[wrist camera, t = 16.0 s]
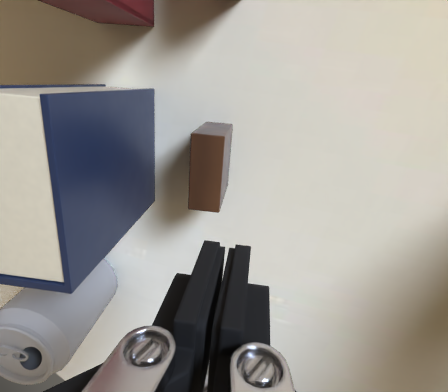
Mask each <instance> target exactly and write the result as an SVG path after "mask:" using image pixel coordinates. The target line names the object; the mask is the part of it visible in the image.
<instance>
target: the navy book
mask: <svg viewBox="0 0 448 392" xmlns="http://www.w3.org/2000/svg"><path fill="white" fill-rule="evenodd" d="M154 201H155V150H154V89H129V88H117V87H106V85H104V84H78V85H0V284H4V285H11V286H19V287H26V288H33V289H40V290H47V291H54V292H61V293H68V294H72V293H73V292H74V291H75V290H76V289H77V288H78V286H79V285H80V284H81V283H82V282H83V281H84V280H85V279H86V277H87V276H88V275H89V274H90V273H91V272H92V271H93V270H94V268H95V267H96V266H97V265H98V264H99V263H100V262H101V261H102V259H103V258H104V257H105V256H106V255H107V254H108V253H109V252H110V250H111V249H112V248H113V247H114V246H115V245H116V244H117V243H118V241H119V240H120V239H121V238H122V237H123V236H124V235H125V234H126V232H127V231H128V230H129V229H130V228H131V227H132V226H133V225H134V224H135V222H136V221H137V220H138V219H139V218H140V217H141V216H142V215H143V213H144V212H145V211H146V210H147V209H148V208H149V207H150V206H151V204H152V203H153V202H154Z"/></svg>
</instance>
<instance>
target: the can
mask: <svg viewBox="0 0 448 392" xmlns="http://www.w3.org/2000/svg"><path fill="white" fill-rule="evenodd" d="M117 286H118V285H117V276H116V274H115V272H114V269H113V268H112V267H111V265H110V264H109V263H108V262H107V261H106V260H105V259H104V258H103V259H102V261H101V262H100V263H99V264H98V265H97V266H96V267H95V268H94V270H93V271H92V272H91V273H90V274H89V275H88V276H87V277H86V279H85V280H84V281H83V282H82V283H81V284H80V285H79V286H78V288H77V289H76V290H75V291H74V292H73V293H72V294H68V293H61V292H54V291H47V290H40V289H33V288H26V287H25V288H24V289H22V290H21V291H20V292H19V293H18V294H17V295H16V296H14V297H13V298H12V299H11V300H10V301H9V302H8V303H6V304H5V305H4V306H3V307H2V308H1V309H0V376H2V377H3V378H5V379H7V380H9V381H12V382H14V383H18V384H25V385H30V384H38V383H41V382H43V381H45V380H46V379H47V378H48V377H49V376H50V375H51V374H54V373H56V372H58V371H60V370H62V369H63V368H64V367H65V366H66V364H67V363H68V362H69V361H70V359H71V358H72V356H73V355H74V353H75V352H76V350H77V349H78V347H79V346H80V344H81V343H82V342H83V340H84V339H85V337H86V336H87V334H88V333H89V331H90V330H91V328H92V327H93V325H94V324H95V322H96V321H97V320H98V318H99V317H100V315H101V314H102V312H103V311H104V309H105V308H106V306H107V305H108V303H109V302H110V300H111V299H112V298H113V296H114V295H115V292H116V289H117Z"/></svg>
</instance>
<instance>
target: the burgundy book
mask: <svg viewBox="0 0 448 392" xmlns="http://www.w3.org/2000/svg"><path fill="white" fill-rule="evenodd" d="M38 1H41V2H44V3H46V4H49V5H52V6H54V7H57V8H60V9H63V10H65V11H68V12H71V13H73V14H76V15H79V16H81V17H84V18H87V19H89V20H92V21H95V22H97V23H108V24H123V25H137V26H151V27H154V0H38Z"/></svg>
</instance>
